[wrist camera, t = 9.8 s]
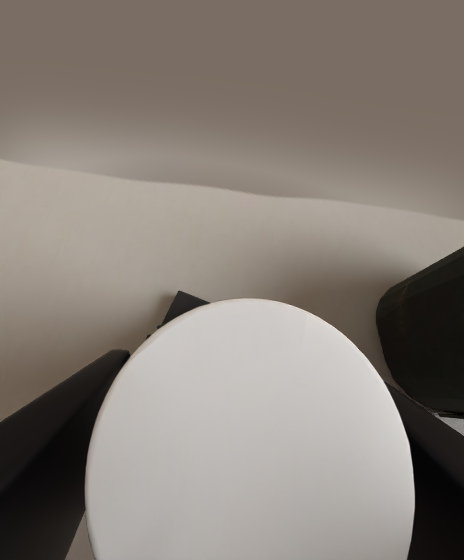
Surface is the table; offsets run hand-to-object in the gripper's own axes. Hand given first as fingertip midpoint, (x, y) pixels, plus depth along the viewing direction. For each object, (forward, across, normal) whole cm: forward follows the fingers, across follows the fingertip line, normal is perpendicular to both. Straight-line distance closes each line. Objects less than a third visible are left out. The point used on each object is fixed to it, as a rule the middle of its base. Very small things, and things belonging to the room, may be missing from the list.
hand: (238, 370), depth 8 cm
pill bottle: (+4, 0, +6) cm, 7 cm away
